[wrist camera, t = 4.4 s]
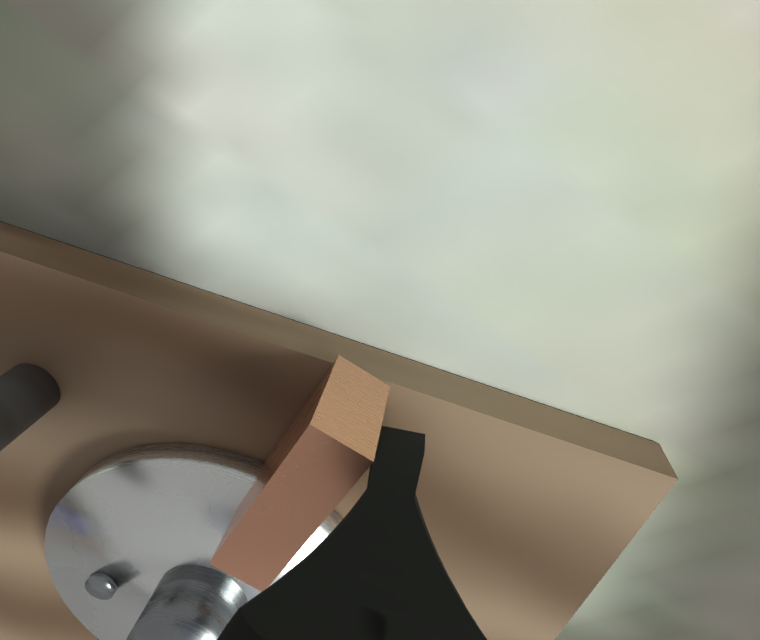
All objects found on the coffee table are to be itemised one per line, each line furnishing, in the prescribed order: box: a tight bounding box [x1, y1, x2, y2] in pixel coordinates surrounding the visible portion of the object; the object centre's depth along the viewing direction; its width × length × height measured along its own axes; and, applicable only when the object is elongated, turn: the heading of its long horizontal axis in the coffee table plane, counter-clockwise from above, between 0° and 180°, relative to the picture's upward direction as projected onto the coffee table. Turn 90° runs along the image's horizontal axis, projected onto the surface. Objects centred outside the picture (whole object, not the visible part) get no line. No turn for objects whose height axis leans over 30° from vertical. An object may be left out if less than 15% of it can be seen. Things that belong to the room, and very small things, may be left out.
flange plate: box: [44, 355, 390, 640], centre depth 16 cm, size 16×11×3 cm
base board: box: [0, 222, 678, 640], centre depth 17 cm, size 19×23×5 cm
